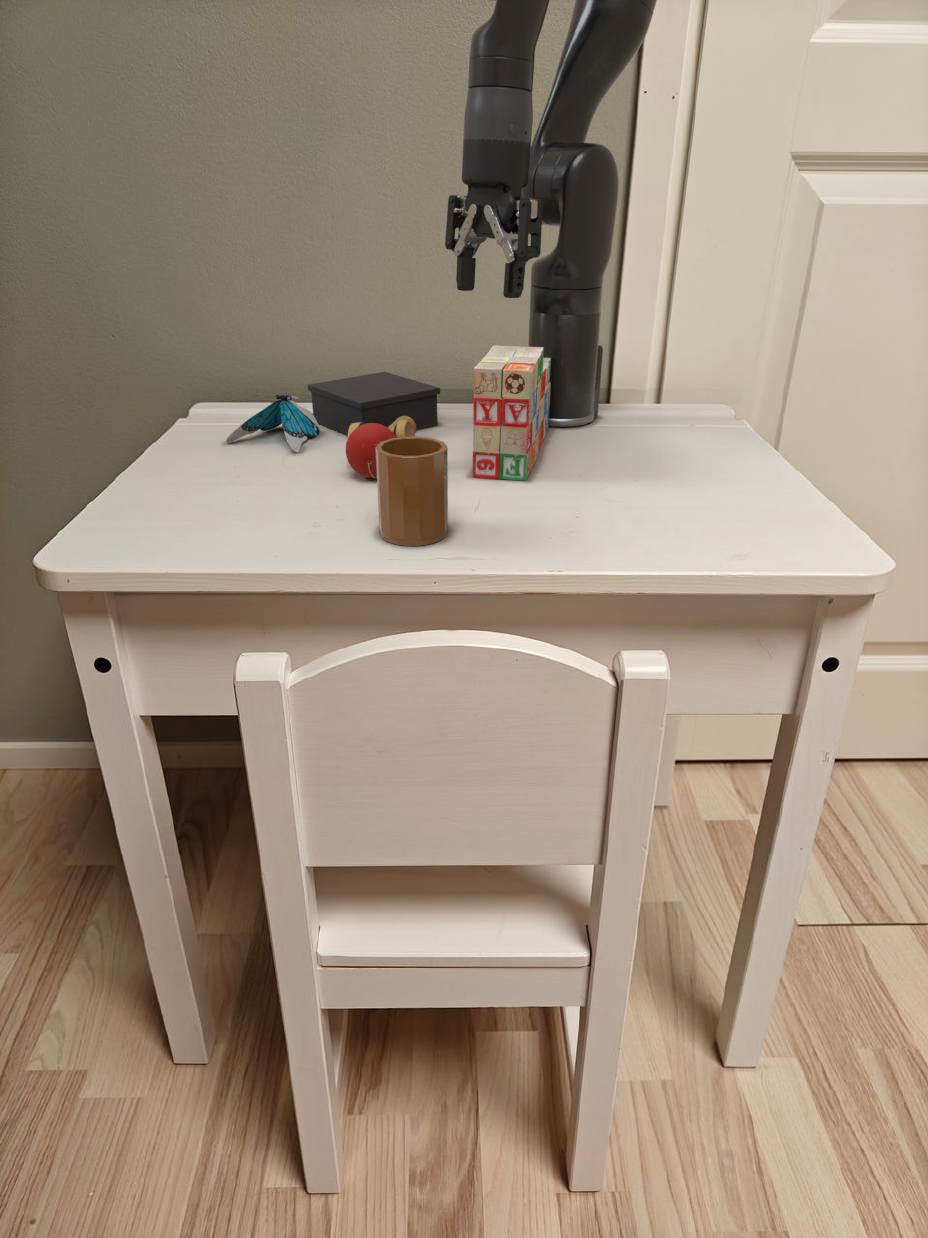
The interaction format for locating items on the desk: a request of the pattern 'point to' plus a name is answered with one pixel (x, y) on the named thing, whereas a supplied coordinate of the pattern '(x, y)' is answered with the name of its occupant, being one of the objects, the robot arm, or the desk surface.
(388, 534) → the cup
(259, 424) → the decorative butterfly
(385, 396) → the black lidded box
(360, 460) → the kendama
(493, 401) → the stack of blocks
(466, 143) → the robot arm
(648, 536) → the desk surface
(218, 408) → the desk surface
